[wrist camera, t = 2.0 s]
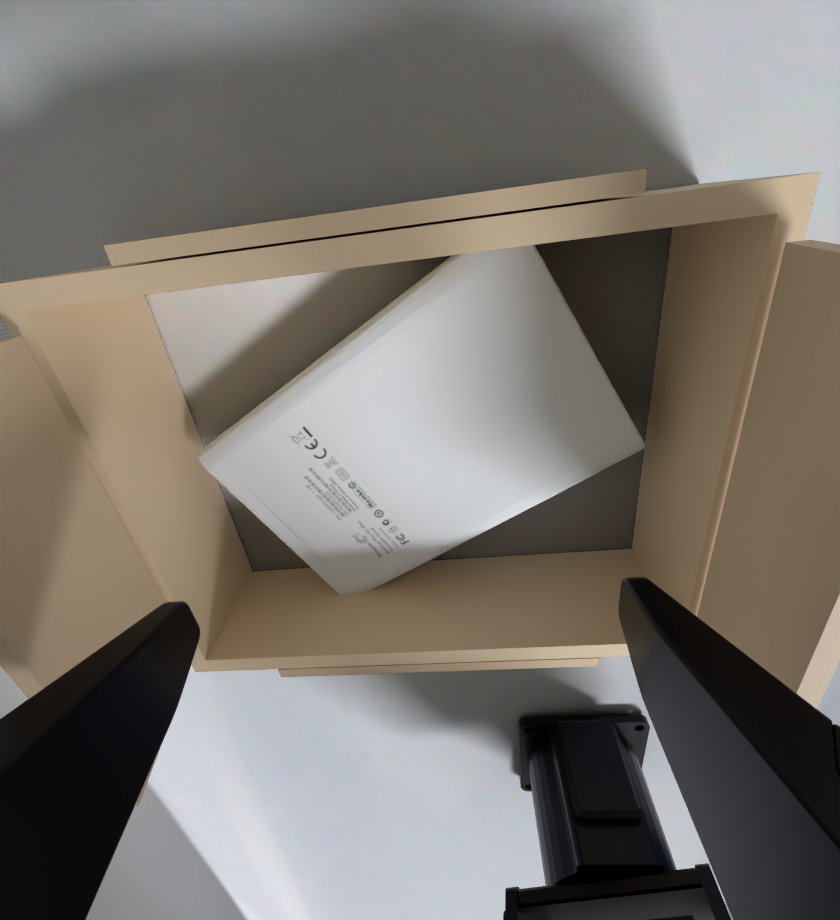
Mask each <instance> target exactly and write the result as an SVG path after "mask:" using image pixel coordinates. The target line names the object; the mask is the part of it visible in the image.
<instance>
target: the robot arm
mask: <svg viewBox="0 0 840 920" xmlns="http://www.w3.org/2000/svg"><path fill="white" fill-rule="evenodd" d="M618 613H619V619H620V623H621V627H622V630H623V633H624V637H625V640H626V644H627V647H628V651H629V654H630V658H631V661H632V665H633V668H634V671H635V675H636V678H637V682H638V685H639V688H640V692H641V695H642V698H643V701H644V703H645V706H646V708H647V711H648V713H649V716H650V718H651V721H652V723H653V726H654V728H655V730H656V733H657V735H658V738H659V740H660V743H661V745H662V747H663V750H664V752H665V755H666V757H667V760H668V762H669V764H670V767H671V769H672V772H673V774H674V777H675V779H676V781H677V784H678V786H679V789H680V791H681V794H682V796H683V798H684V801H685V803H686V806H687V808H688V811H689V813H690V815H691V818H692V820H693V823H694V825H695V828H696V830H697V832H698V835H699V837H700V840H701V842H702V845H703V847H704V849H705V852H706V854H707V857H708V859H709V862H710V864H711V866H712V869H713V871H714V874H715V876H716V879H717V881H718V883H719V886H720V888H721V891H722V893H723V896H724V898H725V900H726V903H727V905H728V908H729V910H730V912H731V915H732V917H733V920H840V726H838V725H832V721H831V720H830V719H829V718H828V717H826V716H825V715H824V714H822V713H821V712H820V711H819V710H817V709H816V708H815V707H813V706H812V705H811V704H810V703H808V702H807V701H806V700H804V699H803V698H802V697H800V696H799V695H798V694H797V693H795V692H794V691H793V690H791V689H790V688H789V687H788V686H786V685H785V684H784V683H782V682H781V681H780V680H778V679H777V678H776V677H775V676H773V675H772V674H771V673H769V672H768V671H767V670H766V669H764V668H763V667H762V666H760V665H759V664H758V663H756V662H755V661H754V660H753V659H751V658H750V657H749V656H747V655H746V654H745V653H744V652H742V651H741V650H740V649H738V648H737V647H736V646H734V645H733V644H732V643H731V642H729V641H728V640H727V639H725V638H724V637H723V636H721V635H720V634H719V633H718V632H716V631H715V630H714V629H712V628H711V627H710V626H709V625H707V624H706V623H705V622H703V621H702V620H701V619H699V618H698V617H697V616H696V615H694V614H693V613H692V612H690V611H689V610H688V609H687V608H685V607H684V606H683V605H681V604H680V603H679V602H677V601H676V600H675V599H674V598H672V597H671V596H670V595H668V594H667V593H666V592H665V591H663V590H662V589H661V588H659V587H658V586H657V585H655V584H654V583H653V582H652V581H650V580H649V579H647V578H645V577H627V578H624V579H623V580H622V582H621V589H620V597H619V606H618ZM199 639H200V627H199V625H198V623H197V621H196V619H195V617H194V615H193V613H192V611H191V609H190V607H189V605H188V604H187V603H186V602H184V601H173V602H166V603H163V604H162V605H160V606H159V607H158V608H156V609H155V610H153V611H152V612H151V613H149V614H148V615H146V616H145V617H143V618H142V619H141V620H139V621H138V622H136V623H135V624H134V625H132V626H131V627H129V628H128V629H127V630H125V631H124V632H122V633H121V634H120V635H118V636H117V637H115V638H114V639H112V640H111V641H110V642H108V643H107V644H105V645H104V646H103V647H101V648H100V649H98V650H97V651H96V652H94V653H93V654H91V655H90V656H89V657H87V658H86V659H84V660H83V661H82V662H80V663H79V664H77V665H76V666H74V667H73V668H72V669H70V670H69V671H67V672H66V673H65V674H63V675H62V676H60V677H59V678H58V679H56V680H55V681H53V682H52V683H51V684H49V685H48V686H46V687H45V688H44V689H42V690H41V691H39V692H38V693H36V694H35V695H34V696H32V697H31V698H29V699H28V700H27V701H25V702H24V703H23V704H21V705H20V706H18V707H17V708H15V709H14V710H13V711H11V712H10V713H8V714H7V715H6V716H4V717H3V718H1V719H0V920H86V918H87V915H88V913H89V911H90V908H91V906H92V904H93V901H94V899H95V897H96V895H97V892H98V890H99V888H100V885H101V883H102V881H103V878H104V876H105V874H106V871H107V869H108V867H109V864H110V862H111V860H112V857H113V855H114V853H115V851H116V848H117V846H118V844H119V841H120V839H121V837H122V834H123V832H124V830H125V827H126V825H127V823H128V821H129V818H130V816H131V814H132V811H133V809H134V807H135V804H136V802H137V800H138V797H139V795H140V793H141V791H142V788H143V786H144V784H145V781H146V779H147V777H148V774H149V772H150V770H151V767H152V765H153V763H154V761H155V758H156V756H157V754H158V751H159V749H160V747H161V744H162V742H163V740H164V737H165V735H166V733H167V730H168V728H169V726H170V724H171V721H172V719H173V716H174V714H175V711H176V709H177V706H178V703H179V700H180V698H181V694H182V691H183V688H184V685H185V682H186V679H187V676H188V673H189V670H190V667H191V664H192V661H193V658H194V655H195V651H196V648H197V645H198V642H199ZM649 729H650V727H649V724H648V721H647V719H646V717H645V716H643V715H638V714H636V715H594V716H551V717H524V718H522V719H520V720H519V721H518V738H519V769H520V784H521V788H522V789H523V790H525V791H532V795H533V802H534V808H535V815H536V822H537V829H538V836H539V842H540V849H541V856H542V863H543V870H544V876H545V883H546V886H542V887H534V888H526V889H519V887H511V888H506V907H505V911H504V915H503V920H731V918H730V916H729V914H728V911H727V909H726V906H725V903H724V901H723V899H722V896H721V894H720V891H719V889H718V886H717V884H716V881H715V879H714V876H713V874H712V871H711V869H710V866H709V864H708V863H707V864H698V865H695V867H696V868H690V869H682V870H676V867H675V864H674V861H673V858H672V855H671V852H670V850H669V847H668V844H667V841H666V838H665V835H664V832H663V829H662V827H661V824H660V821H659V818H658V815H657V812H656V809H655V806H654V804H653V801H652V798H651V795H650V792H649V789H648V786H647V783H646V781H645V778H644V775H643V772H642V764H643V759H644V754H645V749H646V744H647V739H648V734H649Z"/></svg>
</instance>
